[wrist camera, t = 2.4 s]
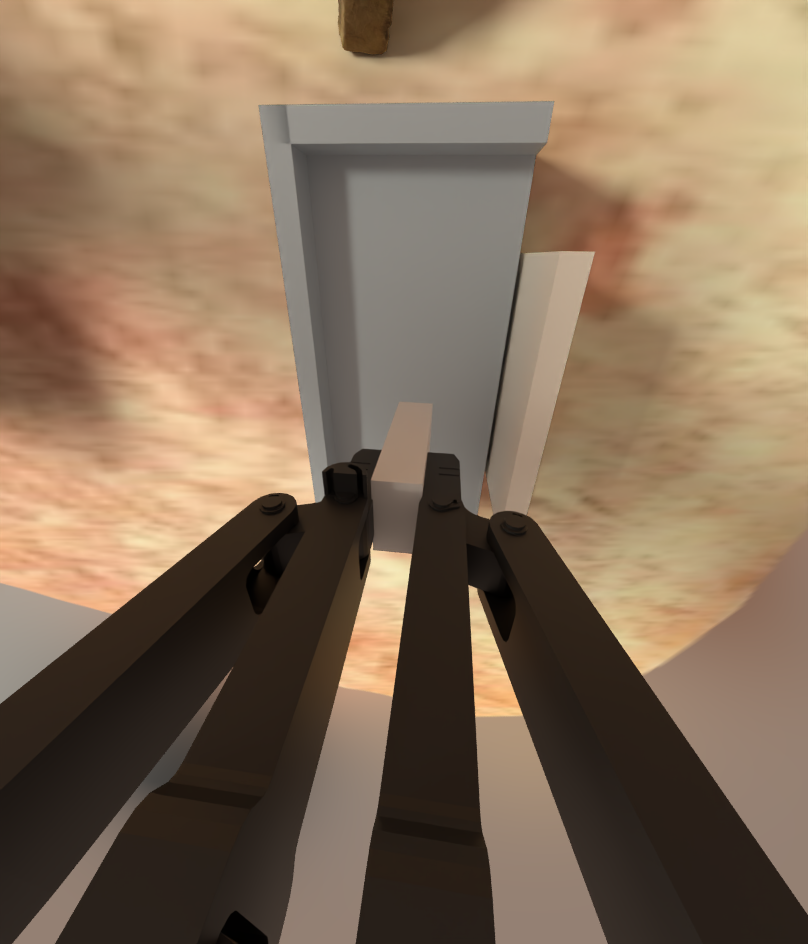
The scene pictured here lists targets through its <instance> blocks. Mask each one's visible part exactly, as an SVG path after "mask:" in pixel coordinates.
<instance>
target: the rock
mask: <svg viewBox="0 0 808 944" xmlns="http://www.w3.org/2000/svg"><path fill="white" fill-rule="evenodd" d="M393 1H394V0H338V3H339V16H338V26H339V35H340V36H341V42H342V47H343V48H344V50H347V51H352V52H363V53H368V54H383V53H384V52H385V51H386V50H387V45H388V40H389V27H390V25H391V23H392V12H393Z"/></svg>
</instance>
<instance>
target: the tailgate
mask: <svg viewBox="0 0 808 944" xmlns="http://www.w3.org/2000/svg"><path fill="white" fill-rule="evenodd" d="M594 254H595V252H585V251H553V252H537V253H521V254H520V257H519V263H518V269H517V275H516V282H515V288H514V294H513V300H512V306H511V312H510V318H509V324H508V331H507V337H506V343H505V349H504V355H503V361H502V367H501V373H500V379H499V386H498V392H497V398H496V404H495V410H494V416H493V422H492V428H491V435H490V441H489V447H488V453H487V459H486V465H485V472H486V478H487V483H488V488H489V494H490V499H491V504H492V510H493V515H494V514H496V513H497V512H501V511H515V512H519V513H522V514H525V515H526V516H527V513H528V509H529V505H530V501H531V497H532V493H533V489H534V486H535V482H536V478H537V474H538V470H539V466H540V462H541V459H542V455H543V451H544V447H545V443H546V439H547V435H548V431H549V428H550V424H551V420H552V416H553V412H554V408H555V404H556V400H557V397H558V393H559V389H560V385H561V381H562V377H563V373H564V370H565V366H566V362H567V358H568V354H569V350H570V346H571V342H572V339H573V335H574V331H575V327H576V323H577V319H578V315H579V312H580V308H581V304H582V300H583V296H584V292H585V288H586V284H587V281H588V277H589V273H590V269H591V265H592V261H593V257H594Z"/></svg>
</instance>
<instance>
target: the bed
mask: <svg viewBox="0 0 808 944" xmlns="http://www.w3.org/2000/svg"><path fill="white" fill-rule="evenodd" d="M553 105H554V101H532V102H456V103H380V104H304V105H259V112H260V119H261V126H262V133H263V140H264V147H265V154H266V161H267V168H268V175H269V182H270V189H271V196H272V203H273V210H274V217H275V224H276V231H277V238H278V244H279V251H280V258H281V265H282V272H283V279H284V286H285V293H286V300H287V307H288V314H289V321H290V328H291V335H292V342H293V349H294V356H295V363H296V370H297V377H298V384H299V391H300V398H301V404H302V411H303V418H304V425H305V432H306V439H307V446H308V453H309V460H310V467H311V474H312V481H313V488H314V495H315V502H316V503H317V502H320V501H322V499H323V497H324V495H325V494H324V486H323V478H322V471H323V470H324V469H325V468H326V467H328V466H330V465H332V464H336V463H340V462H351V460H352V458H353V456H354V454H355V453H357V452H358V451H360V450H361V449H376V450H382V448H383V445H384V442H385V440H386V437H387V434H388V431H389V429H390V426H391V423H392V420H393V418H394V415H395V412H396V409H397V407H398V404H399V402H413V403H431V404H433V406H432V422H431V437H430V452H433V453H447V454H454V455H455V456H456V457H457V458H458V460H459V461H460V480H461V500H462V502H463V504H464V507H465V508H466V509H467V510H468V511H470V512H471V513H473V514H475V515H477V514H478V508H479V502H480V496H481V490H482V483H483V477H484V471H485V465H486V459H487V453H488V447H489V441H490V435H491V428H492V422H493V416H494V410H495V404H496V398H497V392H498V386H499V379H500V373H501V367H502V361H503V355H504V349H505V343H506V337H507V331H508V324H509V318H510V312H511V306H512V300H513V294H514V288H515V282H516V275H517V269H518V263H519V257H520V251H521V245H522V239H523V233H524V227H525V220H526V214H527V208H528V202H529V196H530V190H531V184H532V178H533V171H534V165H535V159H536V155H537V153H538V152H539V151H540V150H541V149H542V148H543V147H544V145H545V144H546V143H547V140H548V134H549V128H550V123H551V117H552V111H553Z"/></svg>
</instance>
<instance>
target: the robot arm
mask: <svg viewBox="0 0 808 944" xmlns="http://www.w3.org/2000/svg"><path fill="white" fill-rule="evenodd" d="M432 406H433V404H431V403H413V402H399V404H398V407H397V409H396V412H395V415H394V418H393V420H392V423H391V426H390V429H389V431H388V434H387V437H386V440H385V442H384V445H383V448H382V450H376V449H361V450H360V451H358V452H357V453H355V454H354V456H353V458H352V460H351V462H340V463H336V464H332V465H330V466H328V467H326V468H325V469H324V470H323V471H322V478H323V486H324V494H325V495H324V497H323V499H322V501H320V502H317V503H312V504H304V505H297V503H296V500H295V499H294V497H293V496H291V495H288V494H284V493H273V494H268V495H265V496H262V497H260V498H258V499H257V500H255V501H254V502H252V503H251V504H250V505H249V506H247V507H246V508H245V509H244V510H242V511H241V512H240V513H239V514H237V515H236V516H235V517H234V518H232V519H231V520H230V521H229V522H227V523H226V524H225V525H224V526H222V527H221V528H220V529H219V530H217V531H216V532H215V533H214V534H212V535H211V536H210V537H209V538H207V539H206V540H205V541H204V542H202V543H201V544H200V545H199V546H197V547H196V548H195V549H193V550H192V551H191V552H190V553H188V554H187V555H186V556H185V557H183V558H182V559H181V560H180V561H178V562H177V563H176V564H175V565H173V566H172V567H171V568H170V569H168V570H167V571H166V572H165V573H163V574H162V575H161V576H160V577H158V578H157V579H156V580H155V581H153V582H152V583H151V584H150V585H148V586H147V587H146V588H145V589H143V590H142V591H141V592H140V593H138V594H137V595H136V596H135V597H133V598H132V599H131V600H130V601H128V602H127V603H126V604H125V605H123V606H122V607H121V608H120V609H118V610H117V611H116V612H115V613H113V614H112V615H111V616H110V617H109V618H107V619H106V620H105V621H103V622H102V623H101V624H100V625H99V626H97V627H96V628H95V629H94V630H92V631H91V632H90V633H89V634H87V635H86V636H85V637H84V638H82V639H81V640H80V641H78V642H77V643H76V644H75V645H74V646H72V647H71V648H70V649H68V651H66V652H65V653H63V654H62V655H61V656H60V657H59V658H57V659H56V660H55V661H53V662H52V663H51V664H50V665H48V666H47V667H46V668H45V669H43V670H42V671H41V672H40V673H38V674H37V675H36V676H35V677H33V678H32V679H31V680H30V681H28V682H27V683H26V684H25V685H23V686H22V687H21V688H20V689H18V690H17V691H16V692H15V693H14V694H12V695H11V696H10V697H8V698H7V699H6V700H5V701H3V702H2V703H1V704H0V944H12V943H13V942H14V941H15V939H16V938H17V937H18V936H19V935H20V934H21V932H22V931H23V930H24V929H25V928H26V926H27V925H28V924H29V923H30V922H31V920H32V919H33V918H34V916H36V914H37V913H38V912H39V911H40V910H41V908H42V907H43V906H44V905H45V904H46V902H47V901H48V900H49V899H50V897H51V896H52V895H53V894H54V893H55V891H56V890H57V889H58V888H59V886H60V885H61V884H62V883H63V881H64V880H65V879H66V877H67V876H68V875H69V874H70V872H71V871H72V870H73V869H74V867H75V866H76V865H77V864H78V862H79V861H80V860H81V859H82V857H83V856H84V855H85V854H86V852H87V851H88V850H89V848H90V847H91V846H92V845H93V843H94V842H95V841H96V840H97V838H98V837H99V836H100V834H101V833H102V832H103V831H104V829H105V828H106V827H107V826H108V824H109V823H110V822H111V821H112V819H113V818H114V817H115V816H116V814H117V813H118V812H119V810H120V809H121V808H122V807H123V805H124V804H125V803H126V801H127V800H128V799H129V798H130V797H131V795H132V794H133V793H134V791H135V790H136V789H137V788H138V786H139V785H140V784H141V782H142V781H143V780H144V779H145V778H146V776H147V775H148V774H149V773H150V771H151V770H152V769H153V767H154V766H155V765H156V764H157V762H158V761H159V760H160V759H161V757H162V756H163V755H164V754H165V752H166V751H167V750H168V748H169V747H170V746H171V744H172V743H173V742H174V741H175V740H176V738H177V737H178V736H179V734H180V733H181V732H182V730H183V729H184V728H185V727H186V726H187V724H188V723H189V722H190V721H191V719H192V718H193V717H194V716H195V714H196V713H197V712H198V710H199V709H200V708H201V707H202V705H203V704H204V703H205V702H206V700H207V699H208V698H209V696H210V695H211V694H212V693H213V692H214V690H215V689H216V688H217V686H218V685H219V684H220V682H221V681H222V680H223V679H224V677H225V676H226V675H227V674H228V673H229V671H230V670H231V669H232V667H233V666H234V667H233V669H232V671H231V672H230V674H229V676H228V678H227V680H226V682H225V684H224V686H223V687H222V689H221V691H220V693H219V695H218V697H217V699H216V701H215V702H214V704H213V706H212V708H211V710H210V712H209V714H208V716H207V717H206V719H205V722H204V723H203V725H202V727H201V729H200V731H199V733H198V734H197V737H196V738H195V740H194V742H193V744H192V746H191V748H190V750H189V751H188V753H187V755H186V757H185V759H184V761H183V763H182V764H181V766H180V768H179V770H178V771H177V772H176V774H175V775H174V776H173V777H172V778H171V779H170V780H169V782H167V783H166V784H164V785H162V786H161V787H159V788H157V789H156V790H154V791H152V792H150V793H149V794H148V795H147V797H145V799H144V800H143V801H142V802H141V803H140V804H139V805H138V806H137V807H136V808H135V810H134V811H133V813H132V814H131V816H130V817H129V819H128V820H127V822H126V823H125V825H124V826H123V828H122V829H121V831H120V832H119V834H118V836H117V837H116V839H115V841H114V843H113V845H112V846H111V848H110V849H109V851H108V853H107V855H106V856H105V858H104V860H103V862H102V863H101V865H100V867H99V869H98V870H97V872H96V874H95V876H94V877H93V879H92V881H91V883H90V884H89V886H88V888H87V889H86V891H85V893H84V895H83V896H82V898H81V900H80V901H79V903H78V905H77V907H76V908H75V910H74V912H73V914H72V915H71V917H70V919H69V921H68V922H67V924H66V926H65V928H64V929H63V931H62V933H61V934H60V936H59V938H58V940H57V941H56V943H55V944H278V943H279V940H280V936H281V932H282V928H283V924H284V920H285V916H286V911H287V907H288V903H289V898H290V893H291V887H292V881H293V872H294V861H295V853H296V847H297V843H298V838H299V834H300V830H301V826H302V823H303V819H304V815H305V811H306V807H307V803H308V800H309V796H310V792H311V788H312V784H313V781H314V777H315V773H316V769H317V765H318V761H319V758H320V754H321V750H322V746H323V742H324V739H325V734H326V731H327V727H328V723H329V719H330V715H331V711H332V708H333V704H334V700H335V696H336V692H337V689H338V685H339V681H340V677H341V673H342V670H343V666H344V662H345V658H346V654H347V650H348V647H349V643H350V639H351V635H352V631H353V627H354V624H355V620H356V616H357V612H358V608H359V604H360V601H361V597H362V593H363V589H364V585H365V581H366V578H367V574H368V570H369V566H370V562H371V556H370V549H371V545H372V542H373V550H379V551H389V552H400V553H410V554H412V559H411V566H410V574H409V581H408V588H407V596H406V603H405V611H404V618H403V626H402V633H401V640H400V648H399V655H398V663H397V670H396V678H395V685H394V693H393V700H392V708H391V715H390V722H389V730H388V737H387V745H386V752H385V759H384V767H383V775H382V782H381V789H380V797H379V804H378V809H377V815H376V819H375V823H374V827H373V831H372V837H371V843H370V848H369V855H368V861H367V868H366V875H365V882H364V890H363V896H362V903H361V910H360V917H359V924H358V931H357V939H356V944H495V929H494V914H493V898H492V887H491V875H490V866H489V859H488V852H487V847H486V844H485V840H484V837H483V833H482V828H481V818H480V803H479V784H478V765H477V764H478V763H477V744H476V724H475V705H474V685H473V666H472V646H471V627H470V608H469V588H468V585H470V586H473V587H475V588H477V591H478V595H479V598H480V601H481V603H482V606H483V609H484V611H485V614H486V617H487V619H488V622H489V625H490V627H491V630H492V633H493V636H494V638H495V641H496V644H497V646H498V649H499V652H500V654H501V657H502V660H503V662H504V665H505V668H506V671H507V673H508V676H509V679H510V681H511V684H512V687H513V689H514V692H515V695H516V697H517V700H518V703H519V706H520V708H521V711H522V714H523V716H524V719H525V721H526V724H527V727H528V730H529V732H530V735H531V738H532V741H533V743H534V746H535V749H536V751H537V754H538V757H539V759H540V762H541V765H542V767H543V770H544V773H545V776H546V778H547V781H548V784H549V786H550V789H551V792H552V794H553V797H554V799H555V802H556V805H557V808H558V810H559V813H560V816H561V819H562V821H563V824H564V826H565V829H566V832H567V835H568V838H569V840H570V843H571V846H572V848H573V851H574V854H575V856H576V859H577V861H578V864H579V867H580V870H581V872H582V875H583V878H584V881H585V883H586V886H587V888H588V891H589V894H590V896H591V899H592V902H593V905H594V907H595V910H596V913H597V915H598V918H599V921H600V924H601V926H602V929H603V932H604V934H605V937H606V940H607V942H608V944H808V915H807V913H806V912H805V910H804V909H803V907H802V906H801V905H800V903H799V902H798V900H797V899H796V897H795V896H794V894H793V893H792V891H791V890H790V889H789V887H788V886H787V884H786V883H785V881H784V880H783V878H782V877H781V876H780V874H779V873H778V871H777V870H776V868H775V867H774V865H773V864H772V863H771V861H770V860H769V858H768V857H767V855H766V854H765V852H764V851H763V850H762V848H761V847H760V845H759V844H758V843H757V841H756V839H755V838H754V837H753V836H752V834H751V832H750V831H749V829H748V828H747V827H746V825H745V824H744V822H743V821H742V819H741V818H740V816H739V815H738V814H737V812H736V811H735V809H734V808H733V806H732V805H731V804H730V802H729V800H728V799H727V798H726V796H725V795H724V793H723V792H722V790H721V789H720V787H719V786H718V785H717V783H716V782H715V780H714V779H713V777H712V776H711V774H710V773H709V772H708V770H707V769H706V767H705V766H704V764H703V763H702V761H701V760H700V759H699V757H698V756H697V754H696V753H695V751H694V750H693V748H692V747H691V746H690V744H689V743H688V741H687V740H686V738H685V737H684V736H683V734H682V732H681V731H680V730H679V728H678V727H677V725H676V724H675V722H674V721H673V720H672V718H671V717H670V715H669V714H668V712H667V711H666V709H665V708H664V706H663V705H662V704H661V702H660V701H659V699H658V698H657V696H656V695H655V694H654V692H653V691H652V689H651V688H650V686H649V685H648V684H647V682H646V681H645V679H644V678H643V676H642V675H641V673H640V672H639V670H638V669H637V667H636V666H635V665H634V663H633V662H632V660H631V659H630V657H629V656H628V654H627V653H626V652H625V650H624V649H623V647H622V646H621V644H620V643H619V641H618V640H617V639H616V637H615V636H614V634H613V633H612V631H611V630H610V628H609V627H608V626H607V624H606V623H605V621H604V620H603V618H602V617H601V615H600V614H599V613H598V611H597V610H596V608H595V607H594V605H593V604H592V602H591V601H590V600H589V598H588V597H587V595H586V594H585V592H584V591H583V589H582V588H581V586H580V585H579V584H578V582H577V581H576V579H575V578H574V576H573V575H572V573H571V572H570V571H569V569H568V568H567V566H566V565H565V563H564V562H563V560H562V559H561V558H560V556H559V555H558V553H557V552H556V550H555V549H554V547H553V546H552V545H551V543H550V542H549V540H548V539H547V537H546V536H545V534H544V533H543V532H542V530H541V529H540V527H539V526H538V524H537V523H536V522H535V521H534V520H533V519H532V518H530V517H528V516H526V515H525V514H522V513H519V512H515V511H501V512H497V513H496V514H494V515H492V516H491V519H486V518H483V517H480V516H478V515H475V514H473V513H471V512H470V511H468V510H467V509H466V508H465V507H464V504H463V502H462V500H461V480H460V461H459V460H458V458H457V457H456V456H455V455H454V454H447V453H433V452H430V437H431V422H432ZM260 560H261V562H260V563H259V564H258V565H257V566H255V565H256V564H257V563H258V562H259V561H260ZM254 566H255V567H254Z"/></svg>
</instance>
